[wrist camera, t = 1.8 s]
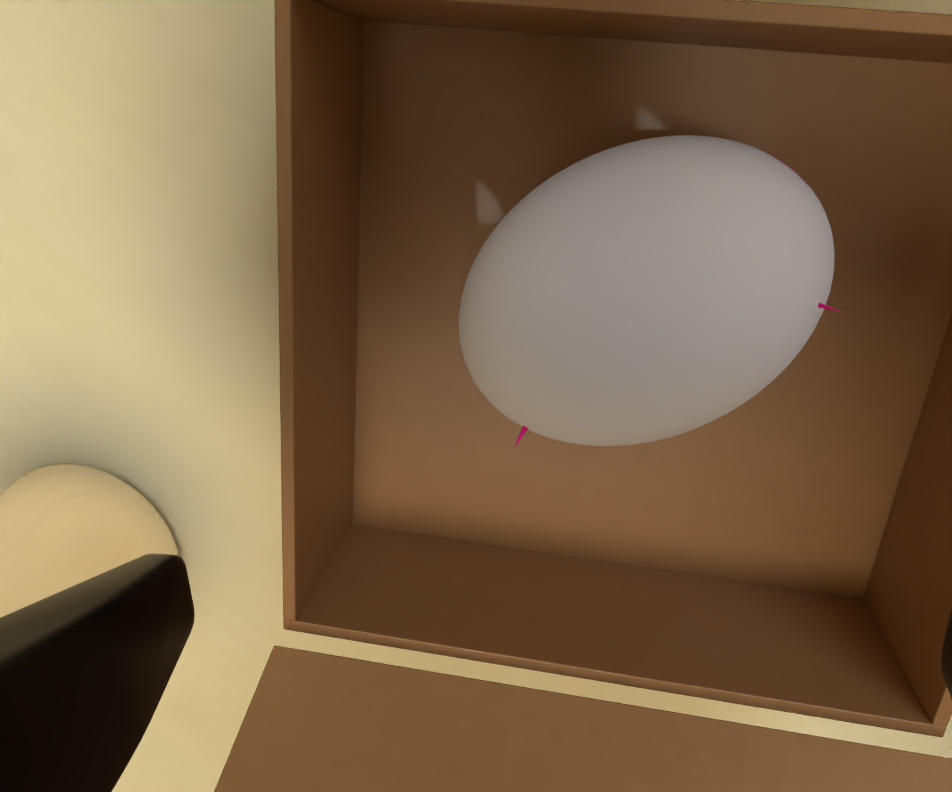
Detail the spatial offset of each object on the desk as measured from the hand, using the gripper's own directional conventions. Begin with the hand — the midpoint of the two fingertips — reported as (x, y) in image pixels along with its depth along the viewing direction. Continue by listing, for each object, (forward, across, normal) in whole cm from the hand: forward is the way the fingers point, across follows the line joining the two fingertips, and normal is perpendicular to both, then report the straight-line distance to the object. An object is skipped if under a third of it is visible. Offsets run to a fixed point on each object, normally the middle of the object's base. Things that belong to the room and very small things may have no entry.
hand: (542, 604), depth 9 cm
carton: (+11, -2, 0) cm, 11 cm away
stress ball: (+11, -2, -1) cm, 11 cm away
